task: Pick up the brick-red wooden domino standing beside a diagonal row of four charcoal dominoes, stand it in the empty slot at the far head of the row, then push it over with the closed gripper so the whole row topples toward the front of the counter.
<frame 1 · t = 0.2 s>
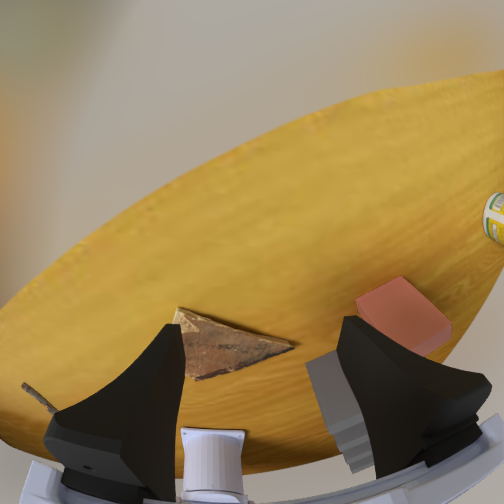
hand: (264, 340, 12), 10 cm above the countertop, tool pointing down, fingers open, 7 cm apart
shard: (215, 331, 24), on the countertop
supplement bottle: (492, 214, 22), on the countertop
red domino: (380, 294, 23), on the countertop
grey brown bark strip: (55, 406, 28), on the countertop
domino 4: (347, 404, 30), on the countertop
domino 2: (330, 358, 26), on the countertop
domino 3: (339, 384, 28), on the countertop
domino 5: (352, 420, 31), on the countertop
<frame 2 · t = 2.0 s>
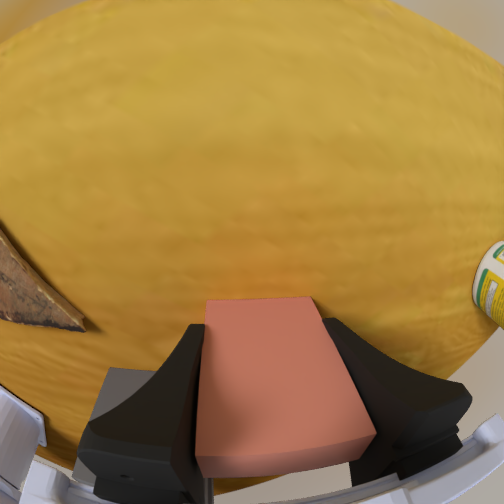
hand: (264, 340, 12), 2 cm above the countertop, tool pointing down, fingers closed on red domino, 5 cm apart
shard: (8, 252, 12), on the countertop
supplement bottle: (489, 272, 15), on the countertop
red domino: (259, 314, 14), on the countertop, touching gripper
domino 2: (150, 380, 15), on the countertop
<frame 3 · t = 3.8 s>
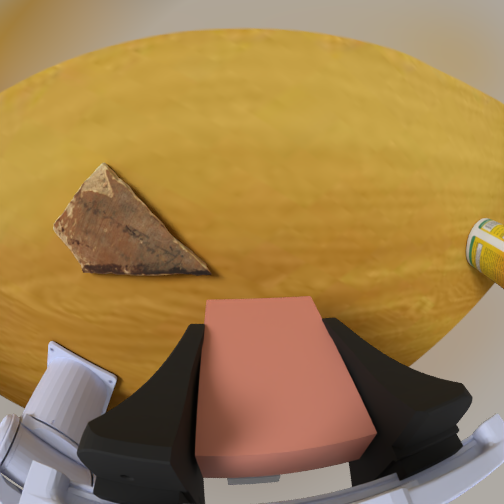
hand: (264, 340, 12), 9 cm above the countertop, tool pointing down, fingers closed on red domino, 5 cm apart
shard: (130, 215, 19), on the countertop
supplement bottle: (478, 241, 22), on the countertop
red domino: (259, 314, 13), point 7 cm above the countertop, touching gripper
domino 5: (247, 421, 27), on the countertop
when the fingers open (3 cm above the countertop, at t = 5.6 s): red domino drops 1 cm, on the countertop.
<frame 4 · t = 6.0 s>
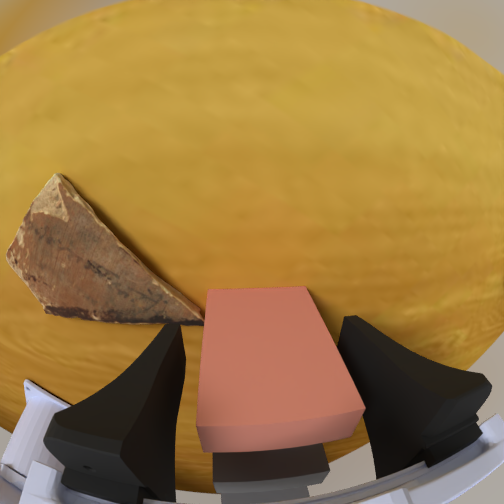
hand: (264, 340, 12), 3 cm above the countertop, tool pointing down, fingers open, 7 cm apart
shard: (97, 243, 13), on the countertop
red domino: (257, 303, 14), on the countertop
domino 2: (255, 370, 16), on the countertop
domino 3: (253, 413, 18), on the countertop
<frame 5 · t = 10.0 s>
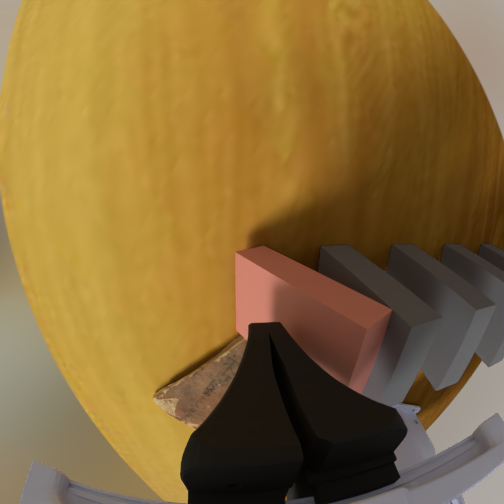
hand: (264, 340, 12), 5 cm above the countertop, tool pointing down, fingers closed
shard: (202, 378, 20), on the countertop
red domino: (249, 290, 16), on the countertop, tilted 30°
domino 4: (444, 274, 17), on the countertop
domino 2: (329, 283, 16), on the countertop, tilted 7°
domino 3: (395, 278, 17), on the countertop
domino 5: (478, 271, 18), on the countertop
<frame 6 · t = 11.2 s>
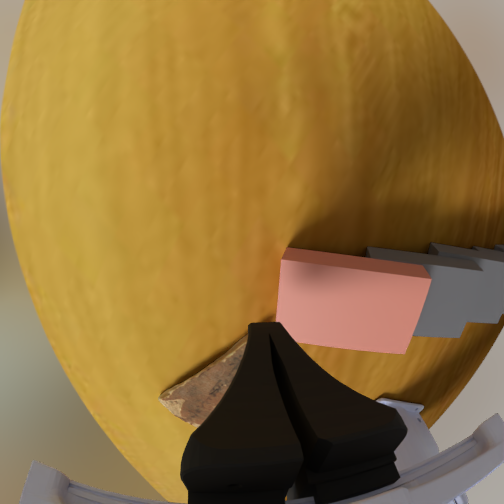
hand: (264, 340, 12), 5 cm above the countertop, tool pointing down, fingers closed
shard: (207, 378, 20), on the countertop
red domino: (280, 294, 16), point 1 cm above the countertop, tilted 70°, touching domino 2
domino 2: (361, 289, 16), point 1 cm above the countertop, tilted 70°, touching domino 3, red domino
domino 3: (425, 280, 16), point 1 cm above the countertop, tilted 70°, touching domino 2, domino 4
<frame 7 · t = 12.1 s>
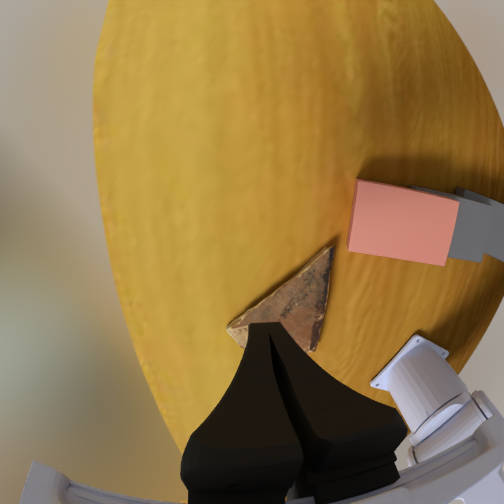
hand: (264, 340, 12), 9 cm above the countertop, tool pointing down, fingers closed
shard: (274, 306, 23), on the countertop
red domino: (352, 213, 19), point 1 cm above the countertop, tilted 70°
domino 2: (408, 217, 19), point 1 cm above the countertop, tilted 70°, touching domino 3
domino 3: (455, 214, 20), point 1 cm above the countertop, tilted 70°, touching domino 2, domino 4
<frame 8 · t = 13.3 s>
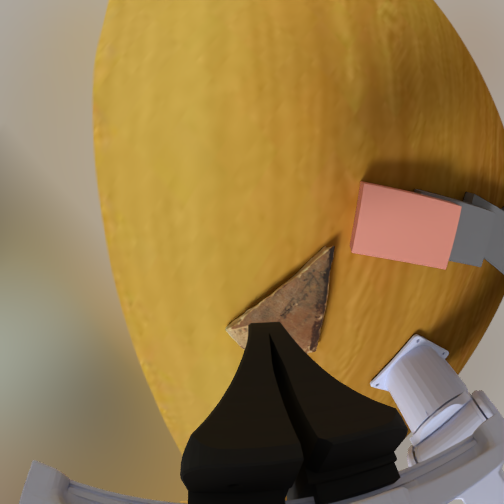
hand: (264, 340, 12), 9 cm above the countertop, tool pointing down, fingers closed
shard: (274, 306, 23), on the countertop
red domino: (356, 216, 19), point 1 cm above the countertop, tilted 71°, touching domino 2
domino 2: (412, 220, 20), point 1 cm above the countertop, tilted 71°, touching red domino
domino 3: (462, 217, 20), point 1 cm above the countertop, tilted 70°, touching domino 4
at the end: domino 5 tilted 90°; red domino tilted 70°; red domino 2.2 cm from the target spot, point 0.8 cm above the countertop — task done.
